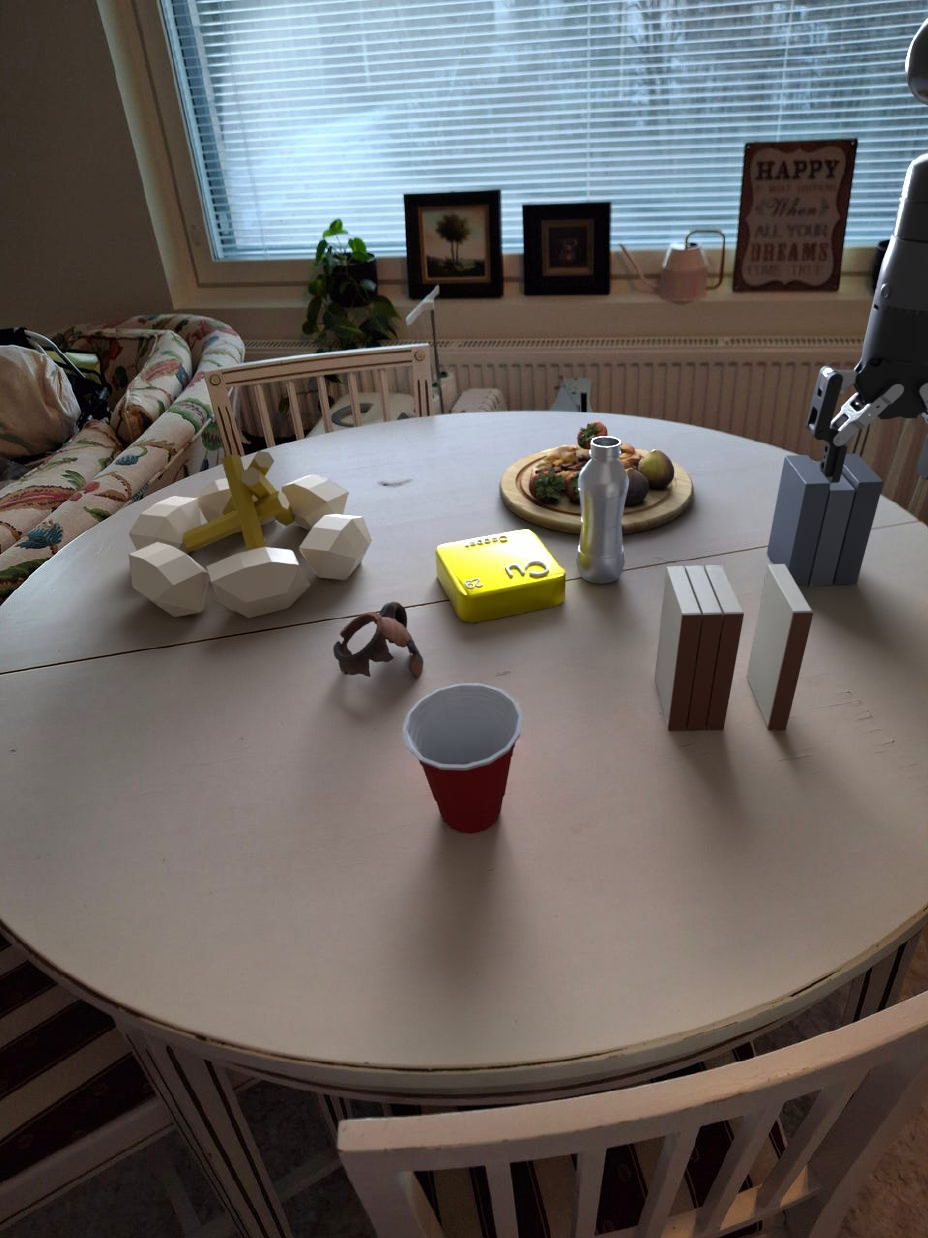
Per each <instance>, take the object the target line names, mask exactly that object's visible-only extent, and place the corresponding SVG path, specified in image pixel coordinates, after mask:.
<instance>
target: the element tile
mask: <svg viewBox="0 0 928 1238" xmlns="http://www.w3.org/2000/svg"><path fill="white" fill-rule="evenodd" d="M434 555H435V566H436V567H435V568H436V577H437V578H438V580H439V583H440V584H441V586H442V589H443V590H444V592H445V594H446V596H447V597H448V600H449V601H450V604H451V605H452V608H453V609H454V612H455V613H456V615H457V618H458V619H460V620H461V621H462V622H465V623H468V624H469V623H470V624H474V623H475V624H476V623H477V624H478V623H482V622H486V621H492V620H496V619H502V618H507V617H510V616H515V615H521V614H525V613H530V612H535V611H540V610H544V609H550V608H554V607H558V606H560V605H562V604H563V603H564V602H565V600H566V579H567V578H566V576H567V575H566V570H565V569H564V568H563V566H562V565H561V564H560V563H559V562H558V560H557V559H556V558H555V557H554V555H553V554H552V553H551V551H550V550H549V548H547V546H546V545H545V544H544V543H543V541H542V540H541V538H540V537H539V536H538V535H537V534H536V533H535V532H534V531H531V530H530V529H519V530H513V531H507V532H501V533H497V534H491V535H487V536H485V535H484V536H480V537H475V538H470V539H464V540H459V541H453V542H448V543H443V544H440V545H438V546H437V548H435V550H434Z"/></svg>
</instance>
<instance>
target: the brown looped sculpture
mask: <svg viewBox="0 0 928 1238" xmlns="http://www.w3.org/2000/svg"><path fill="white" fill-rule="evenodd" d="M373 622H374V624H375V625H376V629H375V632H374V634H373V636H372V638H371V639H370V640H369V642H367V644H366V645H365V646H364V647H363V648H361V649H360V650H359V651H357V652H355V653H352V651H351V650H350V648H349V647H348V643H349V642H350V640H351V639H352V638H353V637H354V635H355V634H356V633H357V632H358V631H359V630H361V629H362V628H364V627H365V626H367V625H369V624H371V623H373ZM339 636H340V637H341V638H343V640H342V641H340V640H336V642H335V643H334V645H333V648H332V652H333V656H334V658H335V659H336V660H337V661H338V666H339V669H340V671H341V672H342V673H343V674H344V675H347V676H348V675H349V676H356V675H363V676H365V677H368V678H371V676H372V675H371V671H370V661H372V662H374V663H389V662H391V661H393V660H394V655H392V653H391V652H390V649H389V646H388V644H387V641H388V643H389V644H394V645H395V646H396V647H399V648H403V649H404V648H406V647H407V650H408V653H409V654H412V657H411V660H410V662H409V664H408V667H407V668H408V670H409V671H410V672H412V674H413V676H414V679H418V678H419V677H420V676H421V674H422V671H423V668H424V658H423V656H422V655H421V652H420V650H419V648H418V647H417V646H416V644H415V641H414V639H413V637H412V634H411V633H410V632H409V630H408V614H407V610H406V609H405V606H403V605H402V604H401V603H400V602H398V601H391V602H387V603H385V604H384V605H383V606H382V607H381V609H380V611H379V612H374V611H368V612H364V613H361V614H360V615H358V616H356V617H354V618H353V619H351V620H350V621H349V622H348V623H347V624H346V625H345V626H344V627H343V628H342V629H341V631H340V633H339Z"/></svg>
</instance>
